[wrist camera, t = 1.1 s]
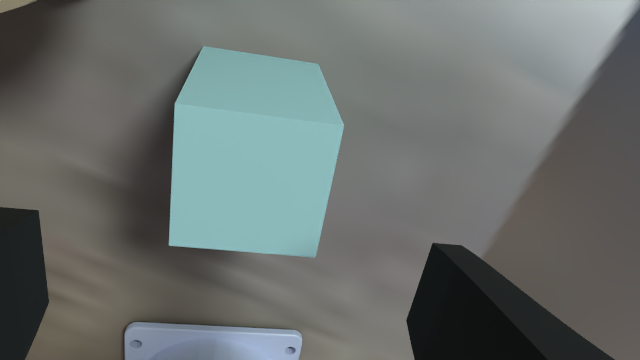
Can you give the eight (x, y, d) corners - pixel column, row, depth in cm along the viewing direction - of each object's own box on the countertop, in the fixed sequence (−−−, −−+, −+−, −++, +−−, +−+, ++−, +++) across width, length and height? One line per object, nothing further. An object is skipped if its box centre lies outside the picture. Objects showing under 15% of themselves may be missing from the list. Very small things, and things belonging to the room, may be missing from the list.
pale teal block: (300, 164, 19) (315, 257, 13) (196, 152, 18) (168, 245, 13) (318, 63, 17) (344, 125, 11) (203, 46, 16) (175, 103, 11)
